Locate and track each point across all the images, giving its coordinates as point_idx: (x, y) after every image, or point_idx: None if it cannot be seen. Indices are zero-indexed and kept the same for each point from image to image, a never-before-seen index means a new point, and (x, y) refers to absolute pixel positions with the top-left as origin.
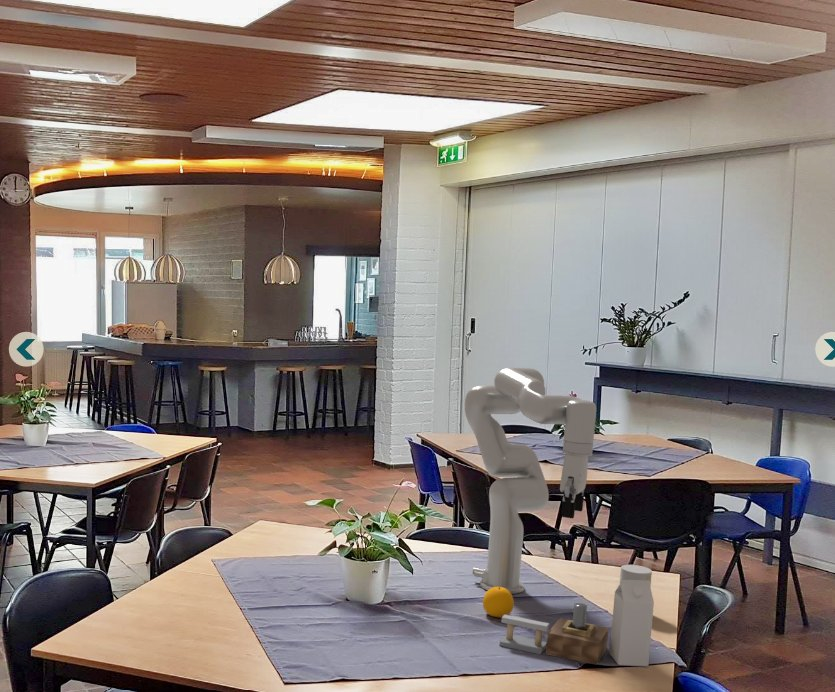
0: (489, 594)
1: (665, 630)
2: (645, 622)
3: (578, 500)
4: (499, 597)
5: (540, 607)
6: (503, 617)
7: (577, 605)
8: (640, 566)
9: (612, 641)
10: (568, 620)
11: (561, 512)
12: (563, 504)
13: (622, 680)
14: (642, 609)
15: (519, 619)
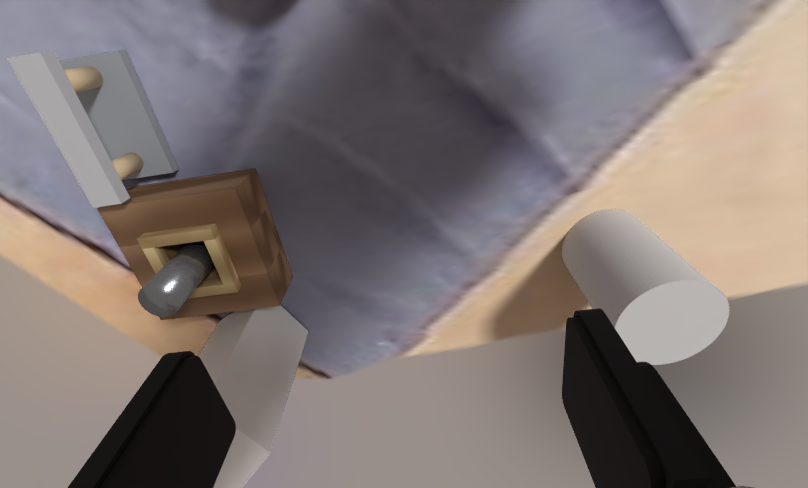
0: None
1: (507, 331)
2: None
3: (610, 481)
4: None
5: (481, 3)
6: (11, 64)
7: (148, 295)
8: (717, 325)
9: (243, 317)
10: (204, 230)
11: (146, 380)
12: (85, 485)
13: (162, 342)
14: None
15: (55, 118)
